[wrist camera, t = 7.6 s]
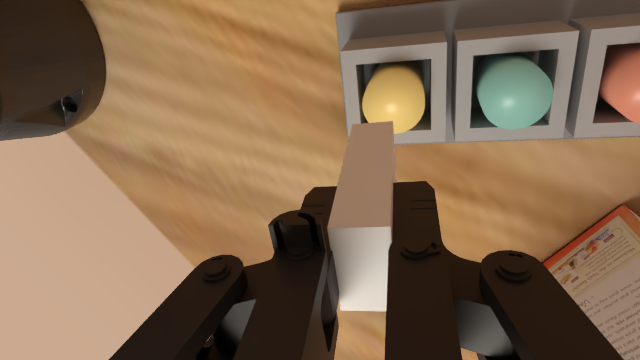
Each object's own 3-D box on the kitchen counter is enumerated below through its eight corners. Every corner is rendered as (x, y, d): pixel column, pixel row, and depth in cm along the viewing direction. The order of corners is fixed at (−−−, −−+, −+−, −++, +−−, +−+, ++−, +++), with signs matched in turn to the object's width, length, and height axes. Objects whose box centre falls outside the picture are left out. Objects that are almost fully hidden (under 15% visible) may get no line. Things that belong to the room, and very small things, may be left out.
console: (350, 141, 34) (340, 168, 30) (337, 11, 30) (324, 22, 26) (661, 130, 29) (703, 161, 25) (704, -29, 25) (764, -24, 20)
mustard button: (370, 112, 31) (364, 135, 27) (367, 60, 29) (359, 76, 25) (424, 110, 30) (425, 132, 26) (423, 55, 28) (424, 71, 24)
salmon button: (584, 101, 27) (610, 125, 24) (595, 42, 26) (625, 57, 22) (652, 98, 27) (689, 122, 23) (667, 36, 25) (711, 51, 21)
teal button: (471, 107, 29) (479, 130, 25) (474, 51, 27) (483, 67, 24) (531, 104, 28) (548, 128, 24) (538, 46, 26) (557, 62, 23)
